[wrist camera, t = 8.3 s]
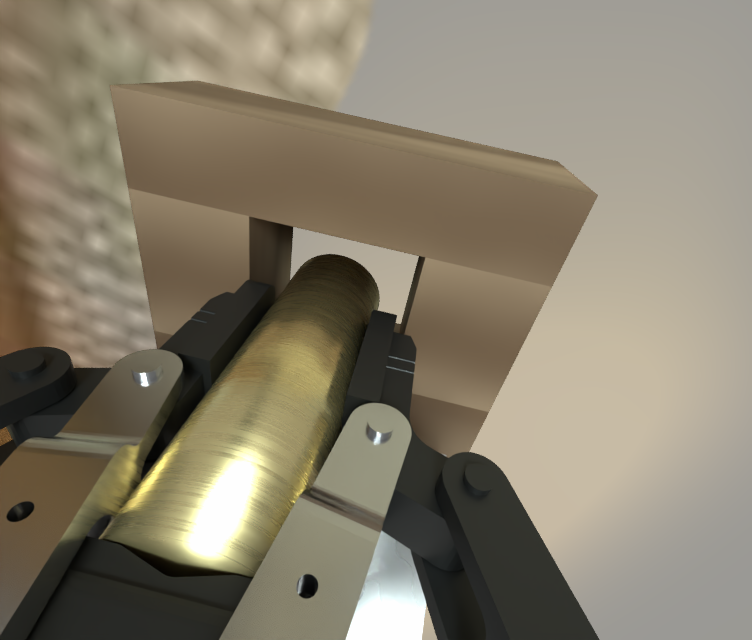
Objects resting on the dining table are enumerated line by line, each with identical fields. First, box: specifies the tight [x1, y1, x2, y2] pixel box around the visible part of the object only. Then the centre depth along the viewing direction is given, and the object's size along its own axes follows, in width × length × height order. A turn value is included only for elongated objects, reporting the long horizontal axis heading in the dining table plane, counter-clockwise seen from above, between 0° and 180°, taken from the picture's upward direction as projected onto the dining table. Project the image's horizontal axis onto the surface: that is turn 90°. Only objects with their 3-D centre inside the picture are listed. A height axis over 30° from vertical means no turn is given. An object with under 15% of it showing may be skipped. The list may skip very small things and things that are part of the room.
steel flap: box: [346, 454, 446, 640], centre depth 12 cm, size 9×10×1 cm
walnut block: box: [110, 81, 598, 458], centre depth 16 cm, size 20×12×4 cm, turn 170°
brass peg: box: [99, 254, 379, 579], centre depth 9 cm, size 3×3×9 cm
